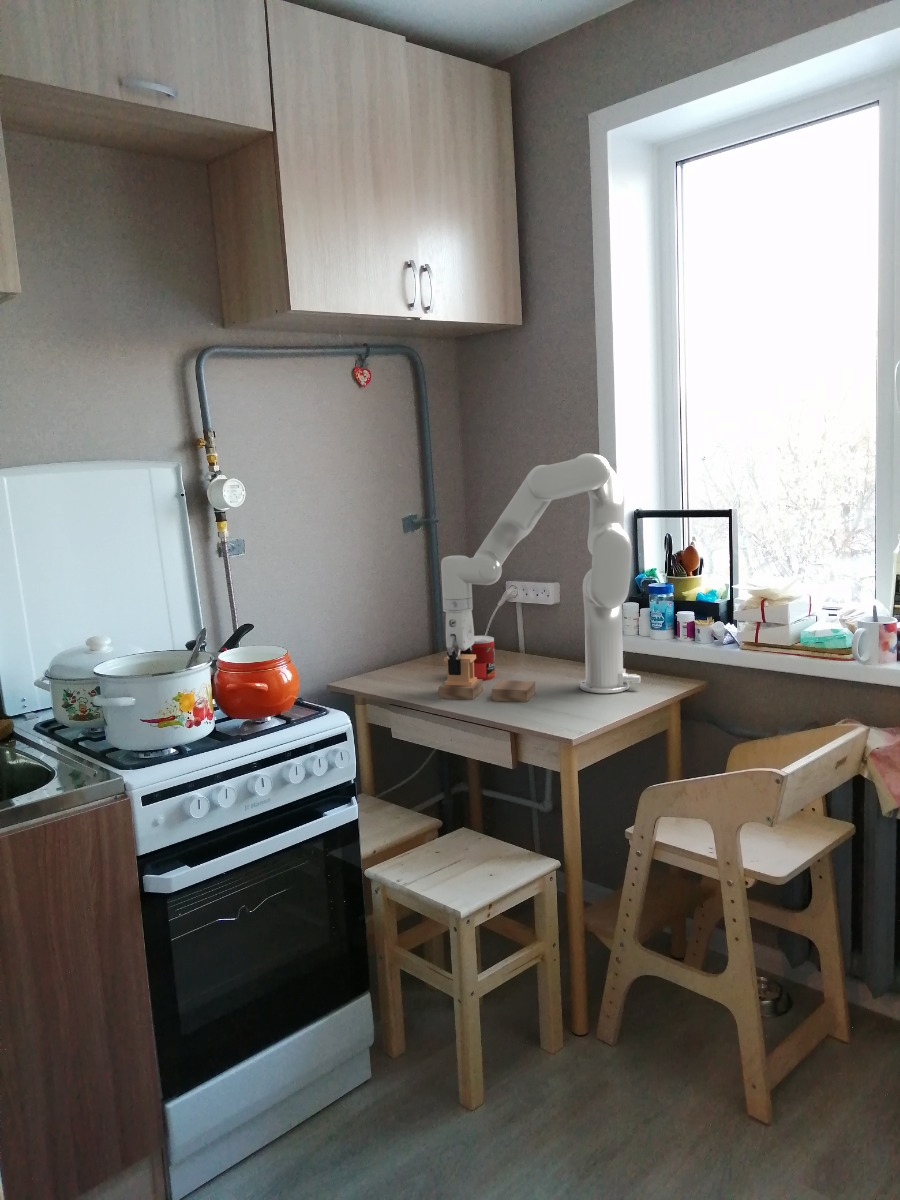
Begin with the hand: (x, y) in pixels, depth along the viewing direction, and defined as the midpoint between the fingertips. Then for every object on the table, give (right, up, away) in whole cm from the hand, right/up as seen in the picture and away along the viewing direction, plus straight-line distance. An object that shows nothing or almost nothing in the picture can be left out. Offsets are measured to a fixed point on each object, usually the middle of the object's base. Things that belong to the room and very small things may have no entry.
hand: (460, 670), depth 244 cm
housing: (0, -3, +1) cm, 3 cm away
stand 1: (0, -6, +1) cm, 6 cm away
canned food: (+6, -4, +18) cm, 19 cm away
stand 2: (+14, -6, -3) cm, 15 cm away
